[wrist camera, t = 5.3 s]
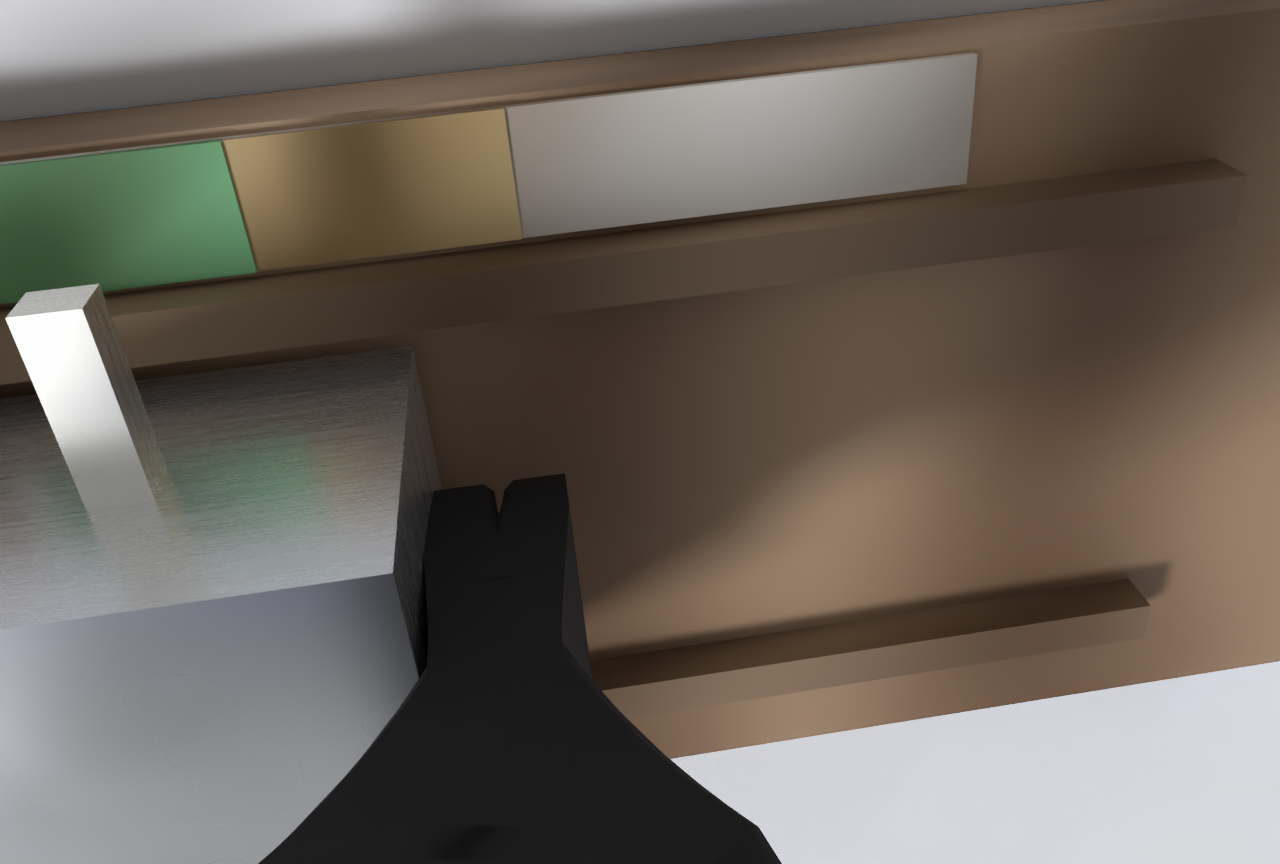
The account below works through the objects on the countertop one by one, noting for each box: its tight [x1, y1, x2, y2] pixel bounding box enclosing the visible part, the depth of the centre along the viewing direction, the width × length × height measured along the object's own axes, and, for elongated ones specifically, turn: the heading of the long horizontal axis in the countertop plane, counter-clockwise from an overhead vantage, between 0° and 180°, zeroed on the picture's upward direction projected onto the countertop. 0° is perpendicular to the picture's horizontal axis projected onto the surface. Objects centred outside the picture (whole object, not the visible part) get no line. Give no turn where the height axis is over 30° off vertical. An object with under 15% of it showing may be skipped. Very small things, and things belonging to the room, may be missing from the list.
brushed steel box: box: [0, 284, 442, 864], centre depth 11 cm, size 7×7×4 cm
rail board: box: [0, 0, 1280, 759], centre depth 12 cm, size 22×10×6 cm, turn 94°
